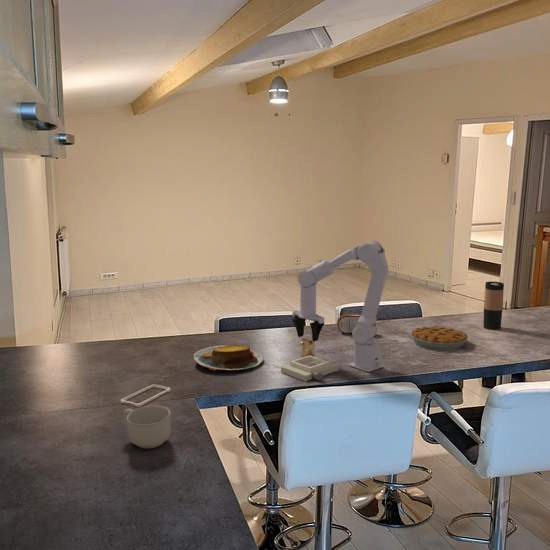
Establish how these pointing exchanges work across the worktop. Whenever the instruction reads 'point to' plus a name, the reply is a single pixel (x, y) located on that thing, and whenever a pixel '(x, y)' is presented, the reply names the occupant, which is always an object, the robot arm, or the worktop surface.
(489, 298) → the travel mug
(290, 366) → the cream peg hole base
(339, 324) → the tin
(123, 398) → the phone case
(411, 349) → the worktop surface
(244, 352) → the food on plate
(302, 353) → the spout can
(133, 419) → the teacup
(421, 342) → the pie
